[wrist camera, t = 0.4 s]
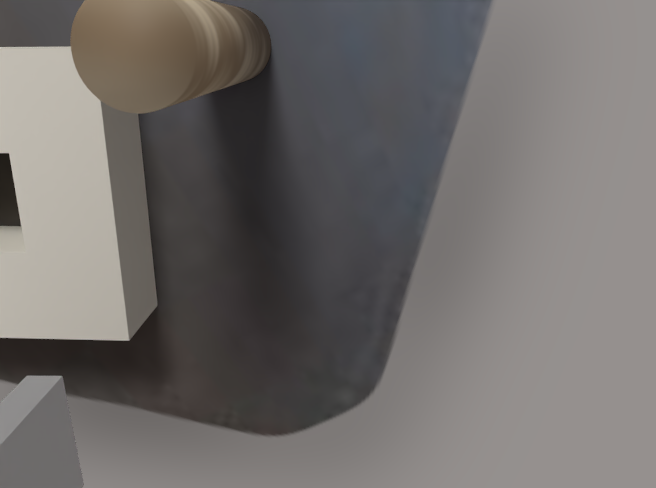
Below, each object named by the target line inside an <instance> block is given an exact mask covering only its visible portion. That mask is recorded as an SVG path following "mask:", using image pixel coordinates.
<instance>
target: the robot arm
mask: <svg viewBox="0 0 656 488" xmlns="http://www.w3.org/2000/svg"><path fill="white" fill-rule="evenodd" d="M83 485H84V483H83V478H82V473H81V469H80V463H79V458H78V453H77V448H76V442H75V437H74V432H73V427H72V422H71V417H70V412H69V407H68V403H67V397H66V392H65V387H64V381H63V376H26V377H25V378H24V379H23V380H22V381H21V382H20V383H19V384H18V385H17V386H16V387H15V388H14V389H13V390H12V391H11V392H10V393H9V394H8V395H7V396H6V397H5V398H4V399H3V400H2V401H1V402H0V488H82V487H83Z"/></svg>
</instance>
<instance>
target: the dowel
mask: <svg viewBox="0 0 656 488" xmlns="http://www.w3.org/2000/svg"><path fill="white" fill-rule="evenodd" d="M71 52H72V57H73V61H74V64H75V67H76V69H77V72H78V74H79V76H80V78H81V79H82V81H83V83H84V84H85V85H86V87H87V88H88V89H89V90H90V91H91V92H92V93H93V94H94V95H95V96H96V97H97V98H98V99H99V100H101V101H102V102H104V103H105V104H107V105H108V106H110V107H113V108H115V109H117V110H120V111H123V112H128V113H138V114H140V113H149V112H154V111H157V110H160V109H163V108H166V107H169V106H172V105H175V104H178V103H181V102H184V101H187V100H190V99H193V98H196V97H199V96H202V95H205V94H208V93H211V92H214V91H217V90H220V89H223V88H226V87H229V86H232V85H235V84H238V83H241V82H244V81H247V80H250V79H252V78H254V77H255V76H257V75H258V74H259V73H260V72H261V71H262V70H263V69H264V68H265V66H266V64H267V62H268V60H269V57H270V53H271V39H270V35H269V32H268V30H267V28H266V26H265V24H264V23H263V21H262V20H261V19H260V18H259V17H258V16H257V15H255V14H254V13H253V12H251V11H249V10H246V9H244V8H240V7H235V6H231V5H227V4H223V3H219V2H215V1H211V0H85V1H84V2H83V4H82V5H81V7H80V8H79V10H78V12H77V14H76V16H75V19H74V22H73V25H72V30H71Z"/></svg>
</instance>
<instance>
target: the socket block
mask: <svg viewBox="0 0 656 488" xmlns="http://www.w3.org/2000/svg"><path fill="white" fill-rule="evenodd" d="M0 153H9V156H10V162H11V168H12V174H13V180H14V186H15V192H16V197H17V203H18V209H19V215H20V221H21V226H0V338H34V339H77V340H120V341H129V340H130V339H131V338H132V337H133V335H134V334H135V333H136V332H137V330H138V329H139V328H140V327H141V325H142V324H143V323H144V322H145V320H146V319H147V318H148V317H149V315H150V314H151V313H152V312H153V310H154V309H155V308H156V307H157V305H158V304H157V294H156V284H155V275H154V265H153V255H152V245H151V235H150V225H149V216H148V206H147V196H146V186H145V176H144V166H143V157H142V147H141V137H140V127H139V117H138V113H128V112H123V111H120V110H117V109H115V108H113V107H110V106H108V105H107V104H105V103H104V102H102V101H101V100H99V99H98V98H97V97H96V96H95V95H94V94H93V93H92V92H91V91H90V90H89V89H88V88H87V87H86V85H85V84H84V83H83V81H82V79H81V78H80V76H79V74H78V72H77V69H76V67H75V64H74V61H73V57H72V52H71V47H0Z"/></svg>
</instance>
